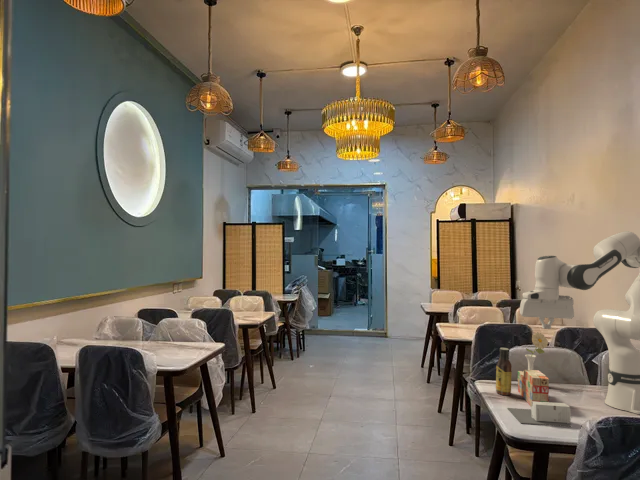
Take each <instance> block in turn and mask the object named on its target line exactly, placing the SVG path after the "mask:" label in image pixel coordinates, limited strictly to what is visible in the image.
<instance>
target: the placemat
mask: <svg viewBox="0 0 640 480" xmlns="http://www.w3.org/2000/svg"><path fill="white" fill-rule="evenodd" d="M506 409H507V410H508V411H509V413H511V415H512V416H513V417H514V418H515V419H516V421H518V422H519V424H520V425H521V424H523V425H534V426H547V427H548V426H550V427H561V428H562V427H563V428H571V427H572V426H571V425H570V423H561V422H546V421H536V420H535V419H533V418H532V412H531V408H530V409H529V408H516V407H506Z"/></svg>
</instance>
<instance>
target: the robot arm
mask: <svg viewBox="0 0 640 480" xmlns="http://www.w3.org/2000/svg"><path fill="white" fill-rule="evenodd" d="M592 251H593V253H592V254H593V257H594V260H593V261H592V262H591V263H587V264H585V263H584V264H582V263H581V264H569V263H566V262H564V261H562V260H560V259H559V258H558V257H557V256H556V255H545V256H544V255H543V256H540V257H537V259H536V260H535V261H536V262H535V266H534V279H535V285H534V289H533V290H529V291H524V292H523V293H522V299H521V301H520V305H519V314H520V315H521V317H523V318H524V317H525V318H538V321H539V322H540V324H541V328H542V329H543V330H545V329H546V330H552V324H553V323H554V321H555V319H567V320H568V319H569V320H570V319H571V320H572V319H574V317H575V309H574V299H573V297H571V296H570V295H561V294H560V287H561V288H562V287H563V288H568V289H576V290H582V291H588V290H590V289H592V288H593V287H594V286H595V284H597V283H598V281H599V280H600V279H601V278H602V277H604V276H605V275H606V274H608V273H609V272H611V271H612V270H614V268H617V266H619V265H620V263H622V265H623V266H625V267H627V268H631V269H637V268H639V269H640V237H639V236H638V235H637V234H636V233H634V232H632V231H621V232H617V233H615V234H612V235H610V236H608V237H605V238H604V239H602V240H600V241H599V242H598V243H597V244H595V245H594V247H593V249H592ZM624 298H625V301H626V304H628V305H629V306H630V307H629V309H627V310H621V309H614V308H613V309H612V308H609V309H608V308H607V309H600V310H597V311H596V312H595V314H594V315H593V320H592V322H593V326H594V328H595V329H596V330H597V331H598V332H599V333H600V334H601V336H602V337H603V339H604V341H605V344H606V346H607V350H608V362H609V363H608V369H607V382H608V385H607V392H606V397H605V399H604V403H605V404H606V405H607V406H609V407H611V408H615V409H618V410H621V411H622V410H623V411H624V412H625V411H626V412H630V413H633V414H635V415H637V414H638V415H640V351H639V350H638V349H637V348H636V347H635V346H634V345H633V343H632V341H631V340H635V341H638V342H640V271H639V273H638V275H637V276H636V277H635V279H634V280H633V282H632V284H631V285H630V287H629V288H628V290H627V292H626V293H625V295H624ZM545 318H547V319H548V320H549V321H548V322H547V323H545V322H544V321H545V320H546V319H545Z"/></svg>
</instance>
